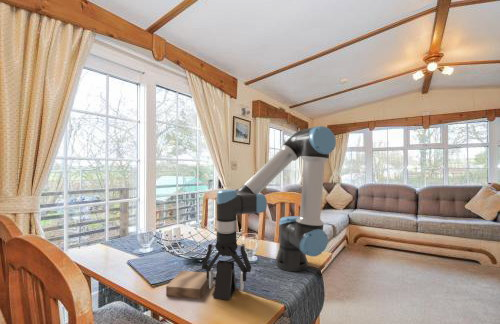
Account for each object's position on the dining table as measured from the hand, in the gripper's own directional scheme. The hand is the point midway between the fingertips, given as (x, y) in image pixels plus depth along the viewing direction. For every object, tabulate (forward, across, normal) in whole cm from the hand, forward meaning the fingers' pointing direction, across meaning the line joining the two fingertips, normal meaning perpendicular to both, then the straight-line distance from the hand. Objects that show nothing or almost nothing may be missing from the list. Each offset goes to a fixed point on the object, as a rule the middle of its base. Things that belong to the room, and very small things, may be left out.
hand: (226, 288), depth 95 cm
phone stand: (+2, 0, 0) cm, 2 cm away
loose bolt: (+2, +5, -11) cm, 12 cm away
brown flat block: (+2, +15, -1) cm, 15 cm away
